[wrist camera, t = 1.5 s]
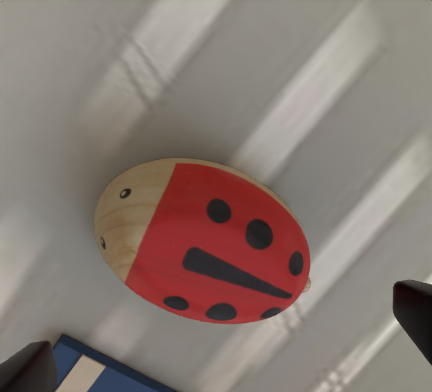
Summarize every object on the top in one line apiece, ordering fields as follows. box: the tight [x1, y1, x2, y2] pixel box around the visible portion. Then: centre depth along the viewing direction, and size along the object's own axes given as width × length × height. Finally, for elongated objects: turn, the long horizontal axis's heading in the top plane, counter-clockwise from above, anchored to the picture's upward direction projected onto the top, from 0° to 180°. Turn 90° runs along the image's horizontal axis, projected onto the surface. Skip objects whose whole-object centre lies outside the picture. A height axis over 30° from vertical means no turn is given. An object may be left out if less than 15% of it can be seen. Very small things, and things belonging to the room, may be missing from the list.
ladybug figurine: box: [94, 158, 311, 324], centre depth 13 cm, size 7×10×4 cm
